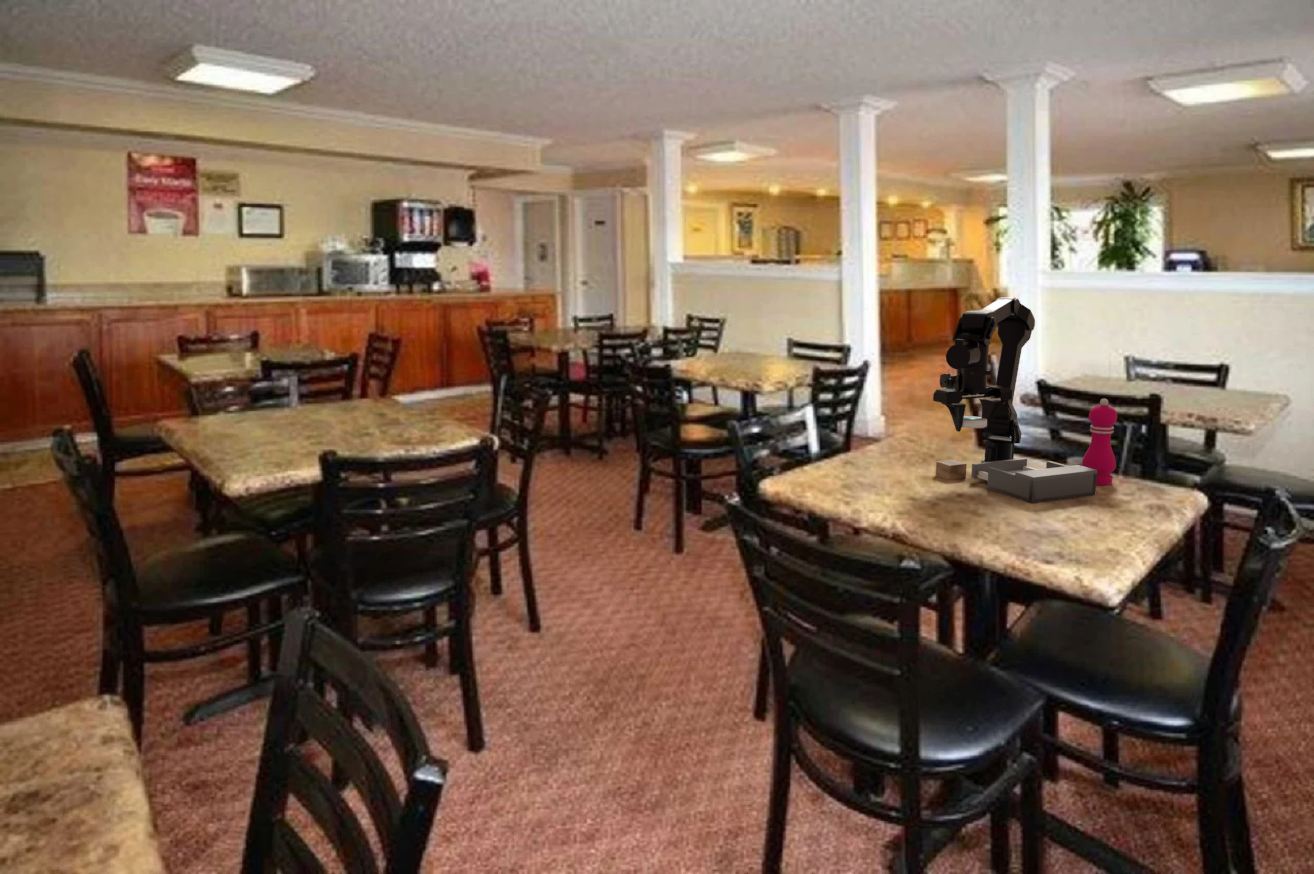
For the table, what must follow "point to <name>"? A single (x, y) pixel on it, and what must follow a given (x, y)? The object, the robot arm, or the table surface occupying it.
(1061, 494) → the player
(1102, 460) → the pepper mill
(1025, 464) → the tray
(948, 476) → the block
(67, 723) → the table surface
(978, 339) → the robot arm
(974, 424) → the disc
